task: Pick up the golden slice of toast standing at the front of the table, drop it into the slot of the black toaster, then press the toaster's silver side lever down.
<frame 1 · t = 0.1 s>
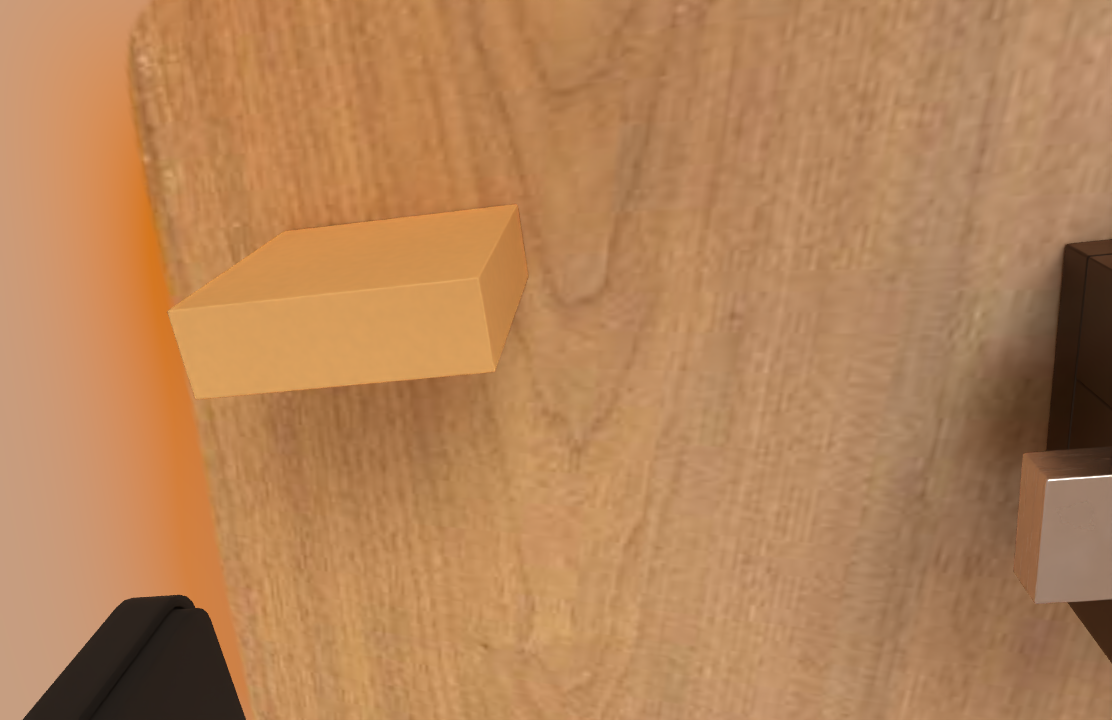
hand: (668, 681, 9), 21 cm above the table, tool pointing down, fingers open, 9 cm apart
toast: (405, 254, 29), on the table
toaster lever: (1086, 524, 24), point 7 cm above the table, slide at 0.0 cm
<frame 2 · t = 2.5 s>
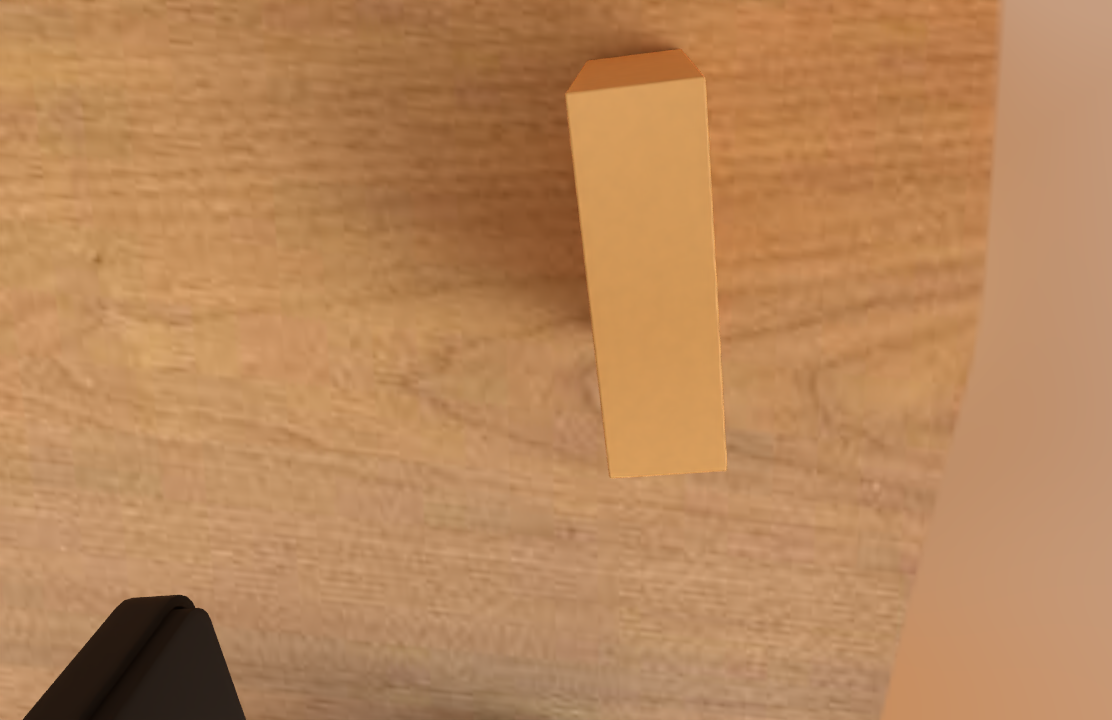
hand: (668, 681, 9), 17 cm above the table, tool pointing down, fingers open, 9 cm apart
toast: (646, 204, 24), on the table
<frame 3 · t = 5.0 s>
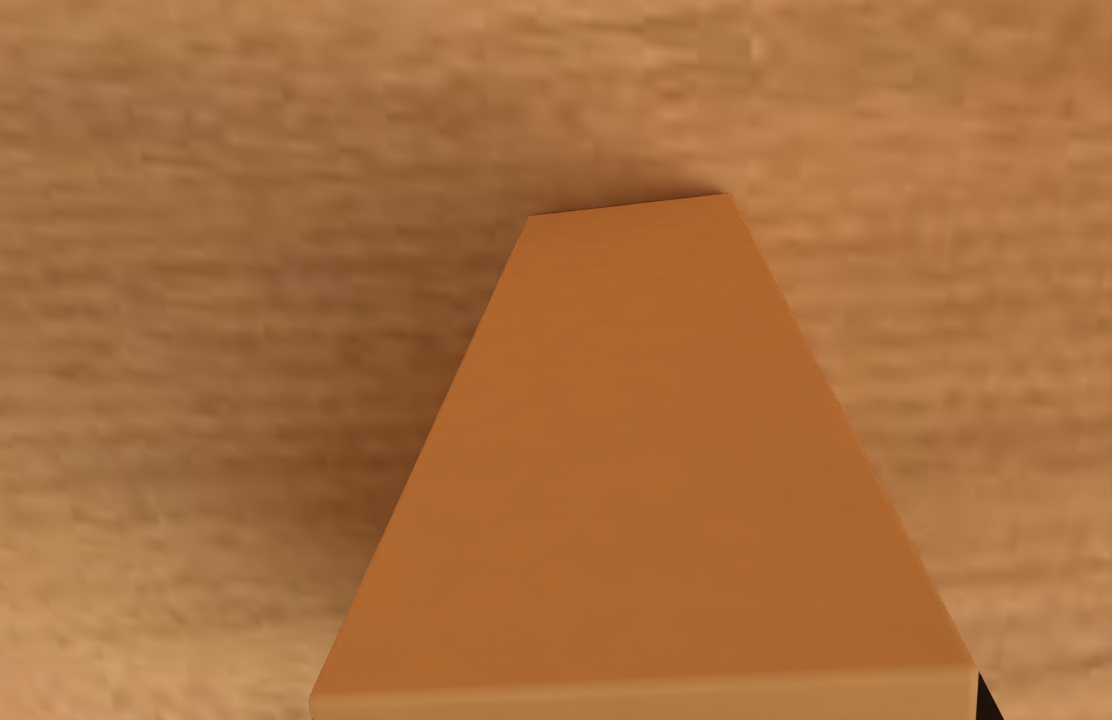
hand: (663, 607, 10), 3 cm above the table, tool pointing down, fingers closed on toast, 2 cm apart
toast: (656, 486, 12), on the table, touching gripper
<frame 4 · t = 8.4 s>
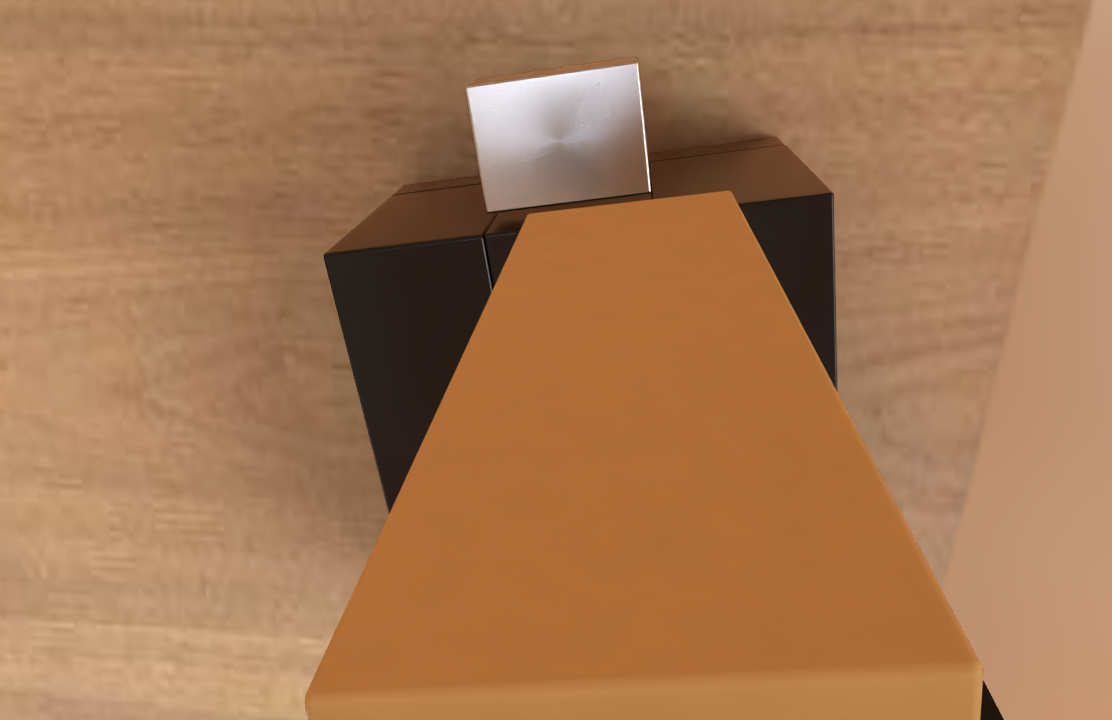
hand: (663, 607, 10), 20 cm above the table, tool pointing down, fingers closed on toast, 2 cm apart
toast: (656, 485, 12), point 17 cm above the table, touching gripper
toaster: (614, 389, 30), on the table
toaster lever: (561, 135, 21), point 6 cm above the table, slide at 0.0 cm
when the fingers open (8 cm above the table, at t = 12.0 s): toast drops 4 cm, resting on toaster.
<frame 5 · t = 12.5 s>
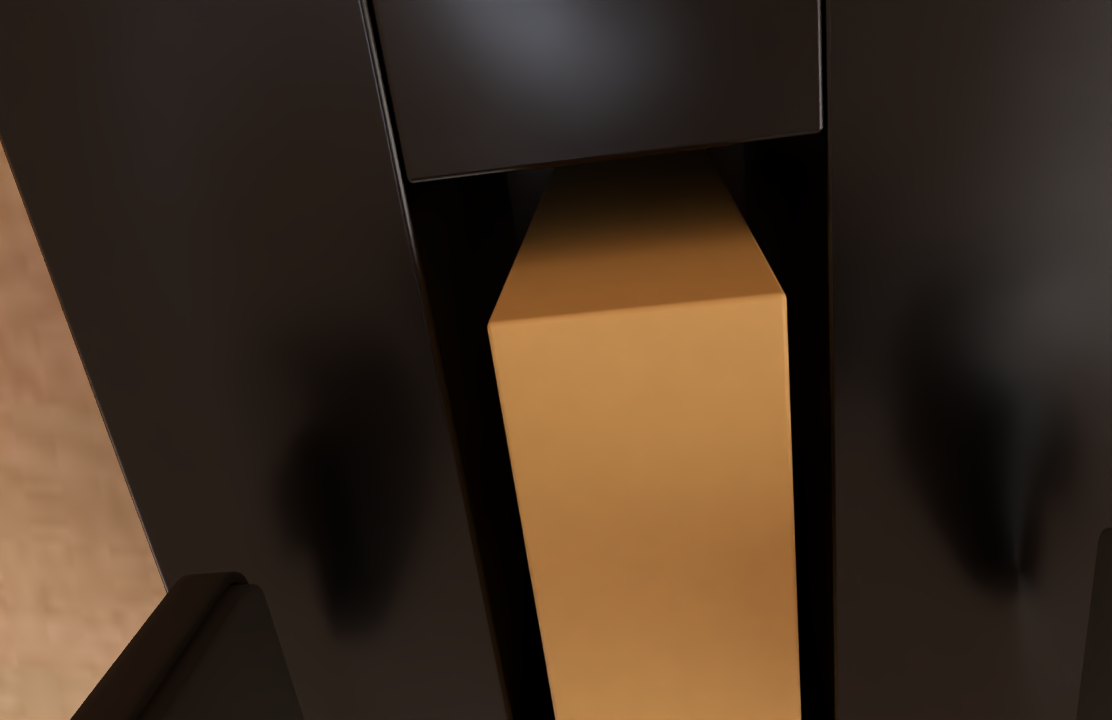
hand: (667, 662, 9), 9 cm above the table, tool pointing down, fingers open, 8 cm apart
toast: (650, 369, 16), point 1 cm above the table, touching toaster
toaster: (643, 342, 17), on the table
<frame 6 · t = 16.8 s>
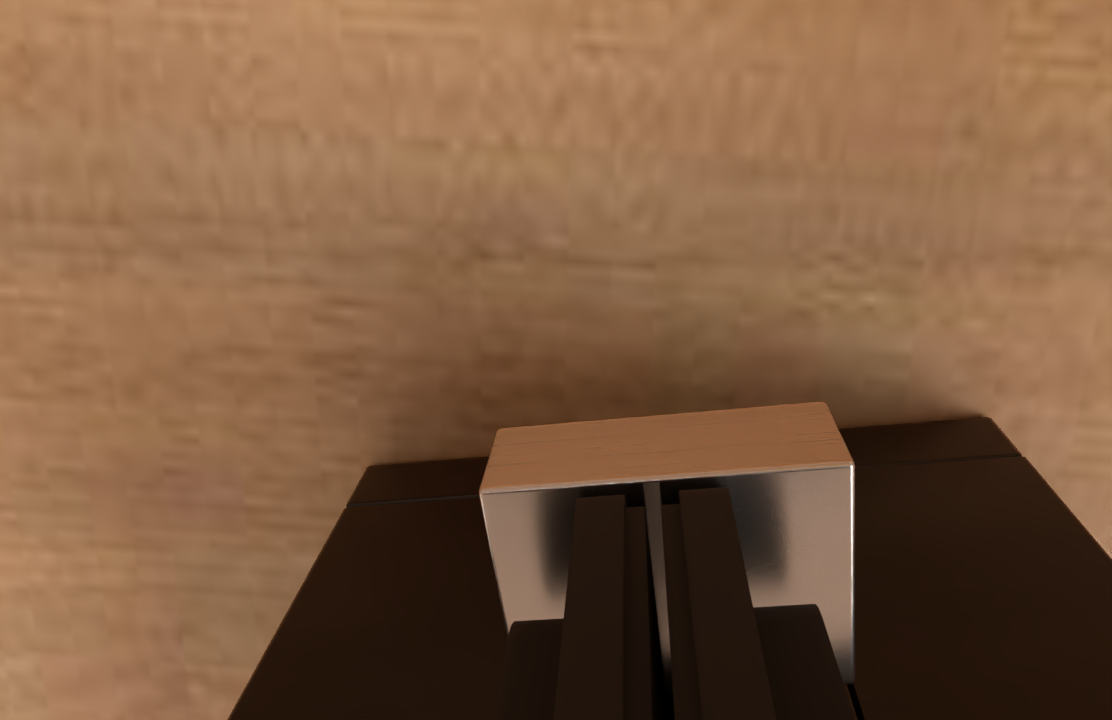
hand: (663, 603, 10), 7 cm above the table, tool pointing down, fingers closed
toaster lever: (670, 552, 10), point 6 cm above the table, slide at -0.4 cm, touching gripper
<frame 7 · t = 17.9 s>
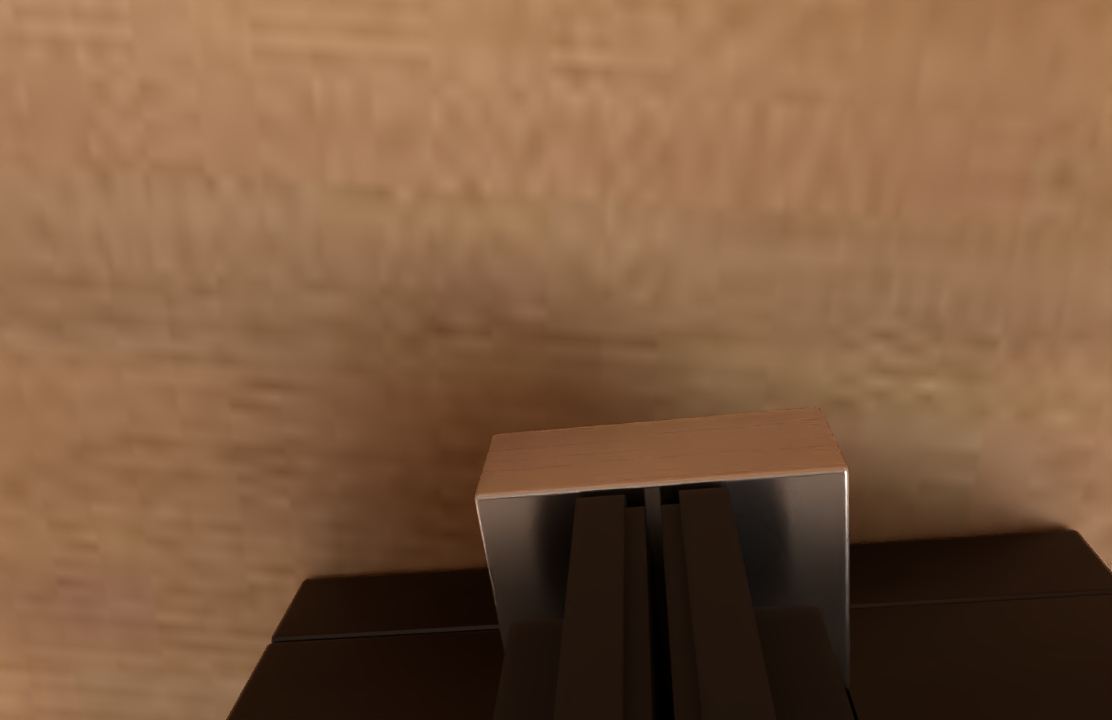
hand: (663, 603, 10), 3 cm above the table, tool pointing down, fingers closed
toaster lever: (665, 557, 10), point 3 cm above the table, slide at -3.9 cm, touching gripper
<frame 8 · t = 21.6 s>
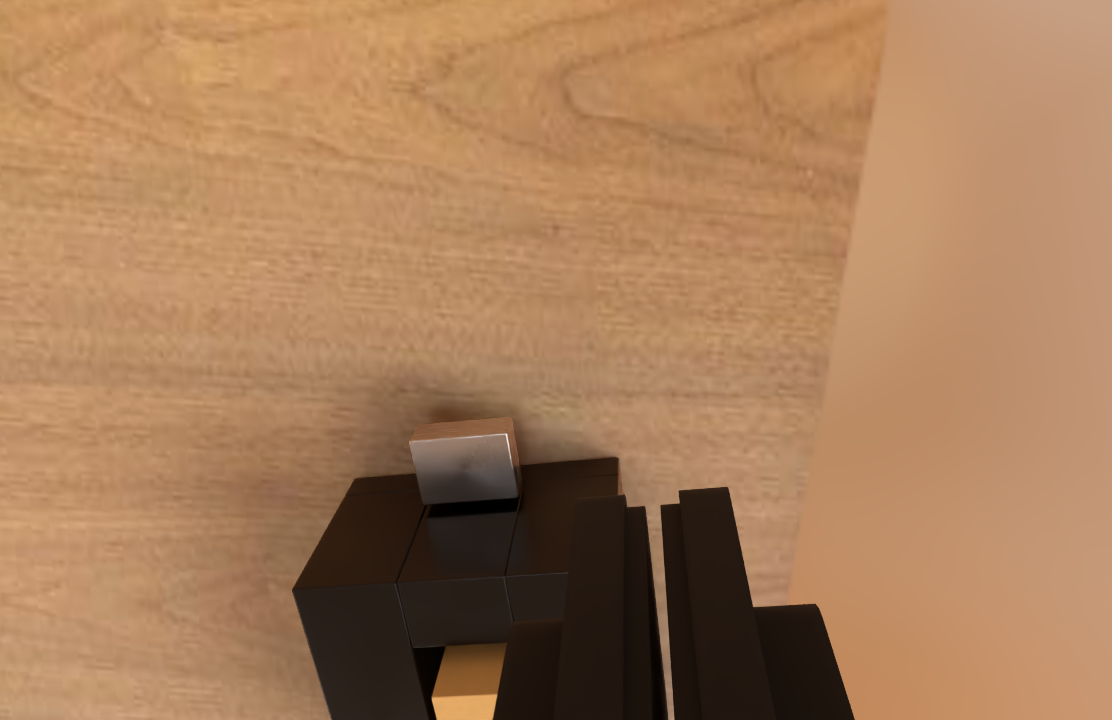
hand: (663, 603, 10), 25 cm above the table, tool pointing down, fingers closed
toast: (509, 633, 40), point 1 cm above the table, touching toaster
toaster: (511, 613, 41), on the table
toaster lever: (466, 461, 35), point 3 cm above the table, slide at -3.9 cm
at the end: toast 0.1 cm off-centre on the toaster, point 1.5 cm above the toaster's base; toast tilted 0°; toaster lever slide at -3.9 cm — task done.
